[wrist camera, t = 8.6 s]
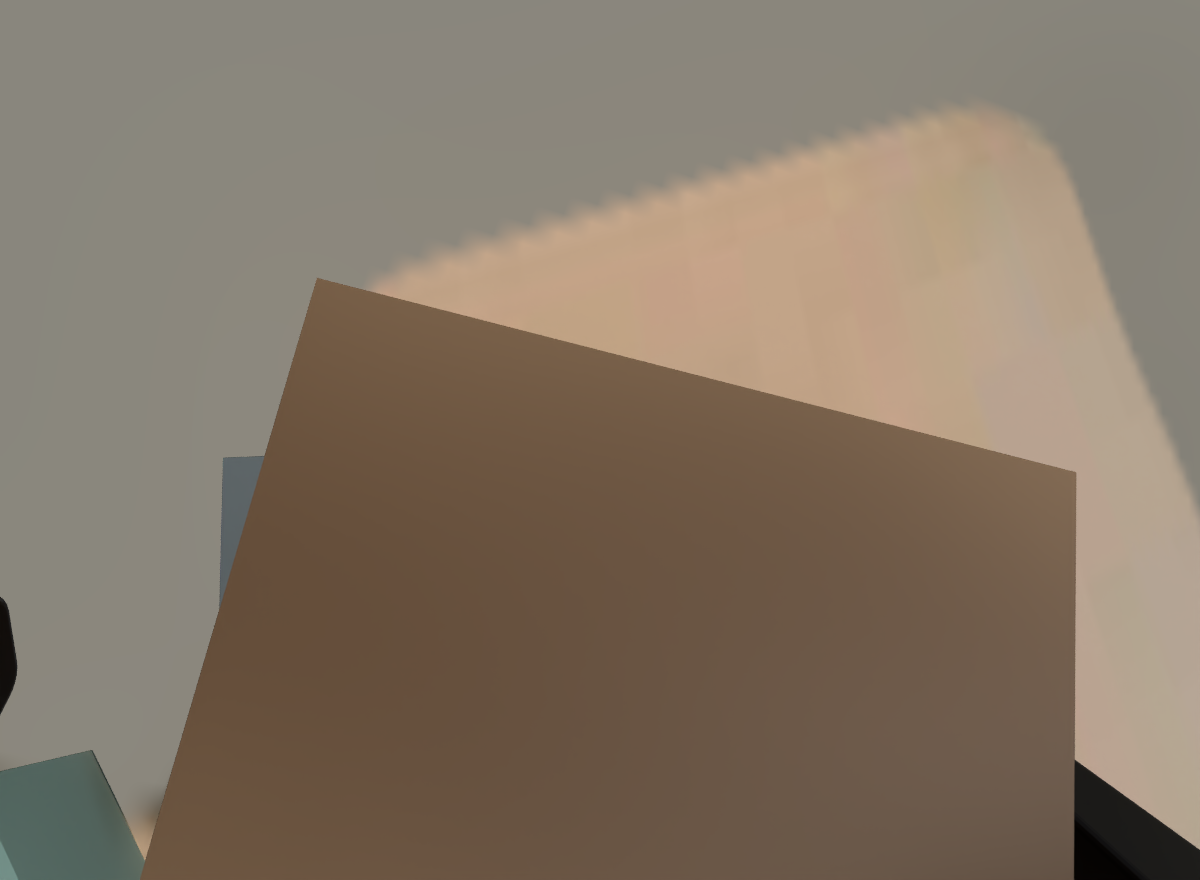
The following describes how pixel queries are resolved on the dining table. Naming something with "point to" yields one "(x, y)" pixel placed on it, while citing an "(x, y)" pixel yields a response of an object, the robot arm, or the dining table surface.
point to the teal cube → (64, 824)
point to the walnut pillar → (621, 631)
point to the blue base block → (235, 507)
